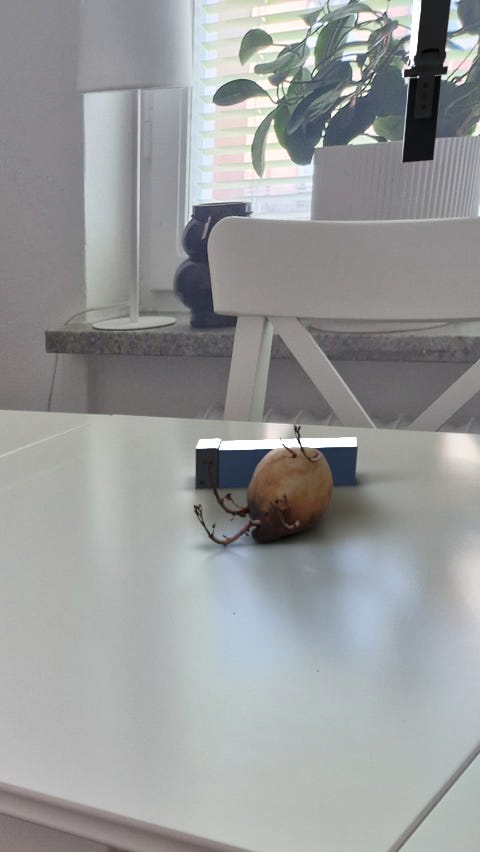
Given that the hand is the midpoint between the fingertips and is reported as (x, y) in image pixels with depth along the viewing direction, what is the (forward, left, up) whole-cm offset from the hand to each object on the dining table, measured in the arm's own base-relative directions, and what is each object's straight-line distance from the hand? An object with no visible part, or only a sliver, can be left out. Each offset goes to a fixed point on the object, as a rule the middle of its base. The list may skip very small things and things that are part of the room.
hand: (417, 161), depth 107 cm
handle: (+11, +19, -24) cm, 33 cm away
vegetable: (+12, +32, -25) cm, 42 cm away
